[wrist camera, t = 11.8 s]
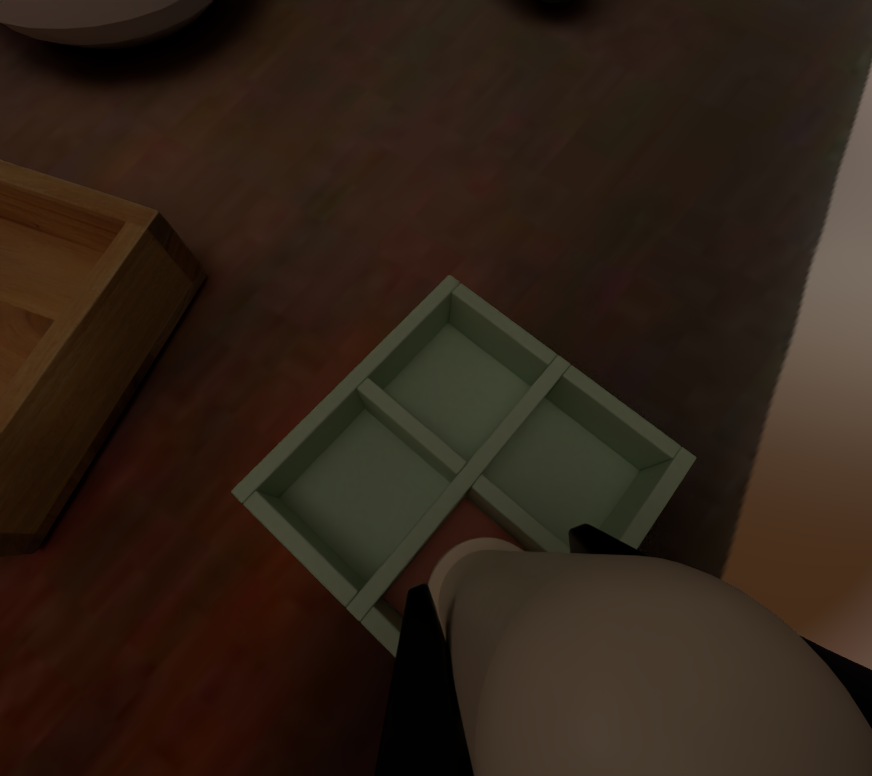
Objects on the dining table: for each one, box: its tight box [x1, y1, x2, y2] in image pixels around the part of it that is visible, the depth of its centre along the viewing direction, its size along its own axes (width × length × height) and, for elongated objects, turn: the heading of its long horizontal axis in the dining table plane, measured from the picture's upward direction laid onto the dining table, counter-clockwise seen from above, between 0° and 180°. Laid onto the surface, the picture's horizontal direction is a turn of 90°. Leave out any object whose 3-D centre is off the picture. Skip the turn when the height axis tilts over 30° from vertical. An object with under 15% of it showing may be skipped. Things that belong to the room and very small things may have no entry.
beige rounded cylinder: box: [428, 537, 872, 776], centre depth 9 cm, size 4×4×13 cm
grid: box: [231, 275, 696, 658], centre depth 19 cm, size 13×13×4 cm
